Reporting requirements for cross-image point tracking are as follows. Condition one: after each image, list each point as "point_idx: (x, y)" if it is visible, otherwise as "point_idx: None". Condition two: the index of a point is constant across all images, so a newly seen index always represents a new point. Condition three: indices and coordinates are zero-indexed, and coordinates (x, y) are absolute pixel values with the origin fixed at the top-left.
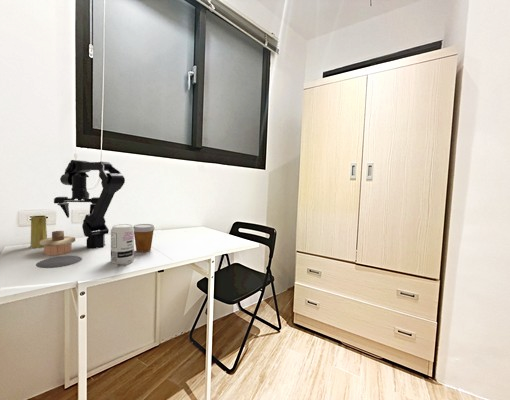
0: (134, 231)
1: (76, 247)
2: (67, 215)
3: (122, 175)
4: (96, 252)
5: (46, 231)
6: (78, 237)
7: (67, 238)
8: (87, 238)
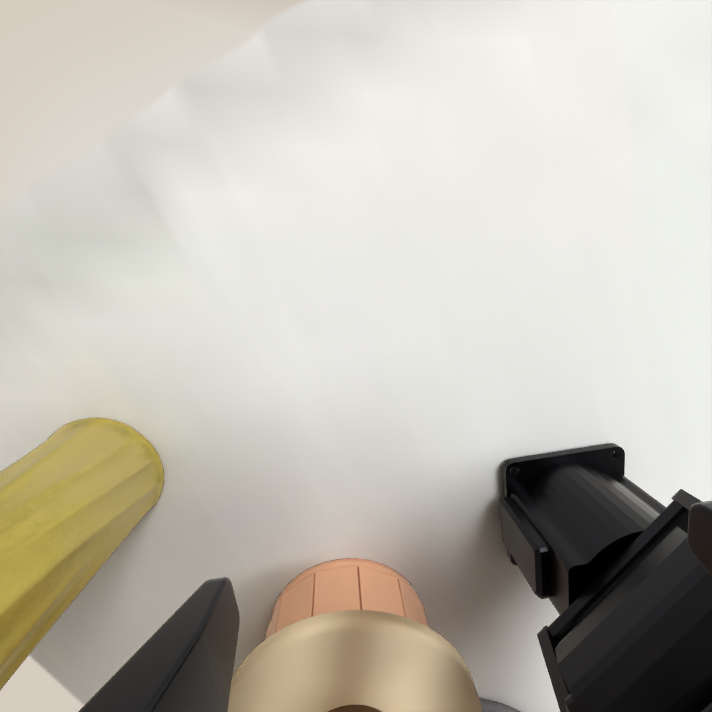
0: None
1: (409, 496)
2: (216, 709)
3: None
4: None
5: (67, 555)
6: (255, 96)
7: (410, 699)
8: (546, 597)
